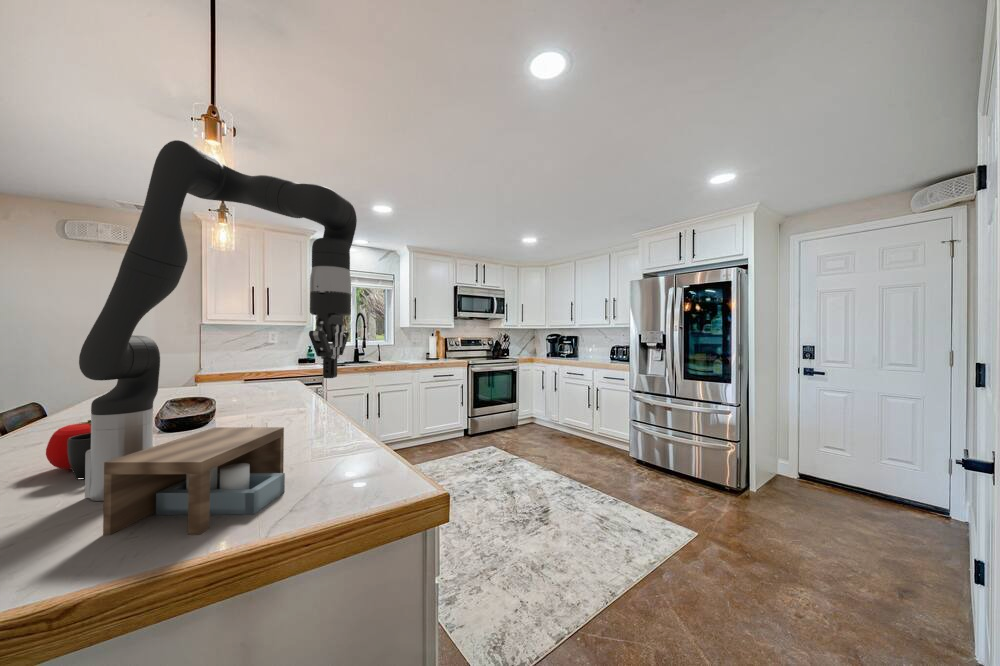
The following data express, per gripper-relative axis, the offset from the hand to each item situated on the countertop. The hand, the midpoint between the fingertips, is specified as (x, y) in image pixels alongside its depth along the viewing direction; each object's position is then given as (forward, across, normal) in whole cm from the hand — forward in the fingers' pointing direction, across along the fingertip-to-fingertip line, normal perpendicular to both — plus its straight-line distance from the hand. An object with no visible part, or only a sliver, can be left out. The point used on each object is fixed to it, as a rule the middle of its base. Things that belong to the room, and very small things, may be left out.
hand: (330, 377), depth 74 cm
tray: (+25, 0, -21) cm, 32 cm away
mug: (+25, -14, -61) cm, 67 cm away
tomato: (+25, -21, -71) cm, 78 cm away
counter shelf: (+25, 0, -24) cm, 35 cm away
